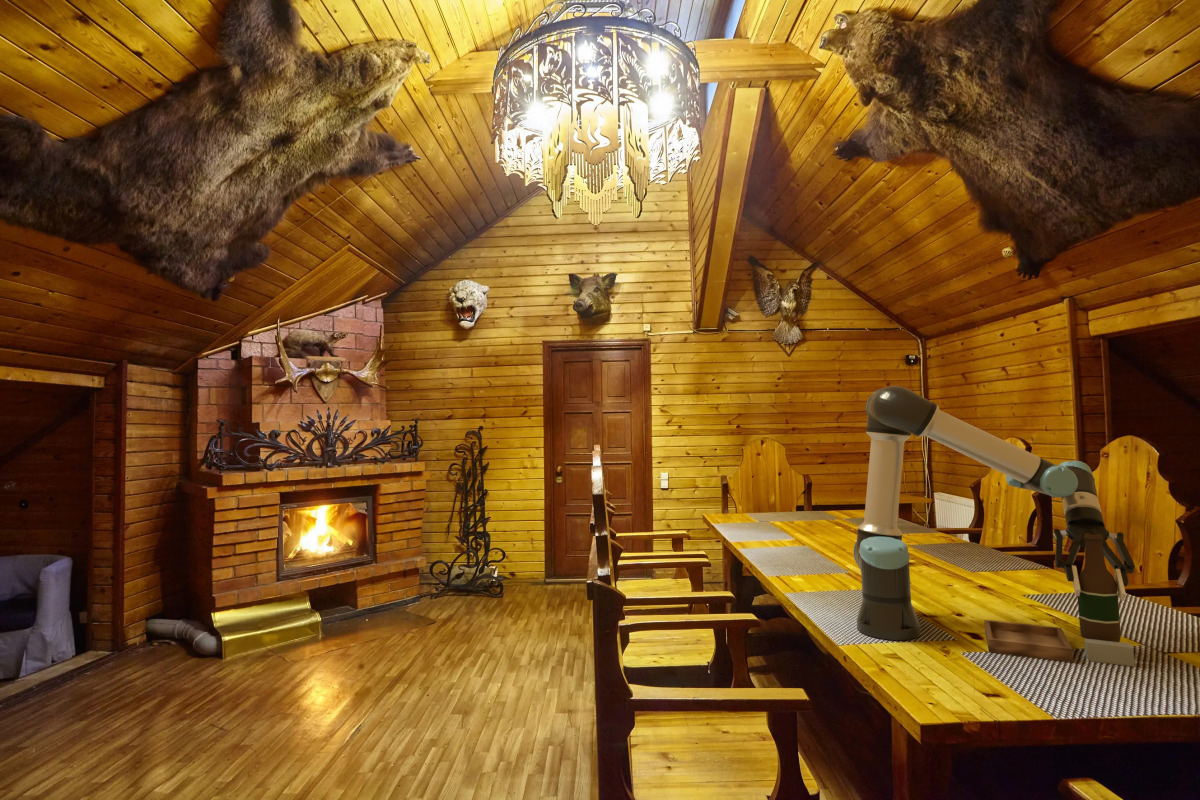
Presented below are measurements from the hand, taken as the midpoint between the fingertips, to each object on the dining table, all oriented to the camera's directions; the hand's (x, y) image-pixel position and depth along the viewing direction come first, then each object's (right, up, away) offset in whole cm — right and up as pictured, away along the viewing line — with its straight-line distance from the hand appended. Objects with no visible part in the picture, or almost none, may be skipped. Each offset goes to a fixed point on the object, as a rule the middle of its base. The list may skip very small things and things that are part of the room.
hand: (1100, 594), depth 141 cm
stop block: (-1, -14, -4) cm, 14 cm away
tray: (-12, -14, +7) cm, 20 cm away
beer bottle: (+2, -11, +2) cm, 11 cm away
